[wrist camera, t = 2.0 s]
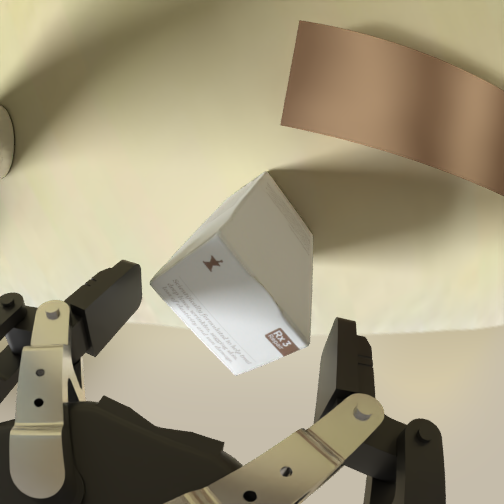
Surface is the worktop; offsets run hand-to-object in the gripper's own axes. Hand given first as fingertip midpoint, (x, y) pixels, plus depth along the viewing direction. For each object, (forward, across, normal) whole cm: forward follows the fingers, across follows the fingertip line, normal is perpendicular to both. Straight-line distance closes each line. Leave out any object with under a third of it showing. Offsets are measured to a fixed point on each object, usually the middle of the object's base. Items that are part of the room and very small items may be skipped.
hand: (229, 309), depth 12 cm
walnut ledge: (+12, -7, -10) cm, 17 cm away
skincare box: (+12, 0, 0) cm, 12 cm away
